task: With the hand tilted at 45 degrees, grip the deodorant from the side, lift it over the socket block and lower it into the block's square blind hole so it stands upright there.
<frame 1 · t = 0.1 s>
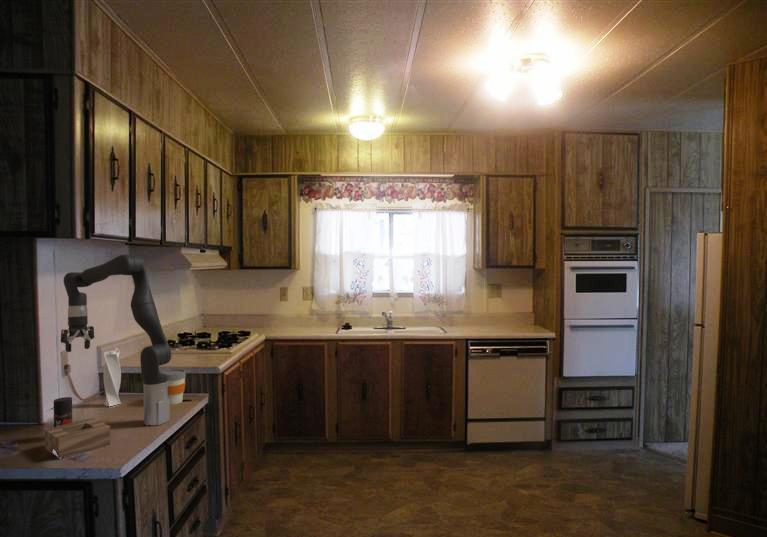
hand: (78, 350, 203), 29 cm above the countertop, tool pointing down, fingers open, 8 cm apart
socket block: (77, 446, 164), on the countertop
skyscraper: (112, 405, 215), on the countertop
reusable coffee cup: (172, 402, 219), on the countertop
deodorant: (63, 437, 173), on the countertop
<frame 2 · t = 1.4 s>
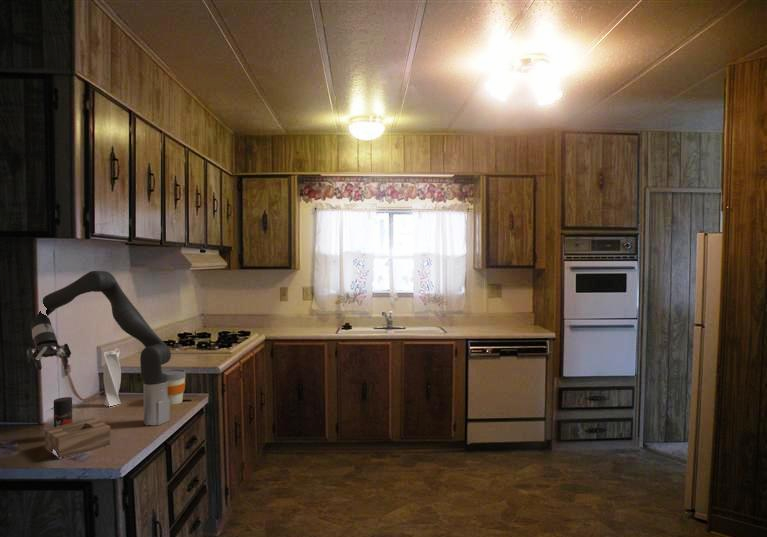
hand: (53, 367, 181), 26 cm above the countertop, tool tilted 45°, fingers open, 8 cm apart
nothing on the countertop moved.
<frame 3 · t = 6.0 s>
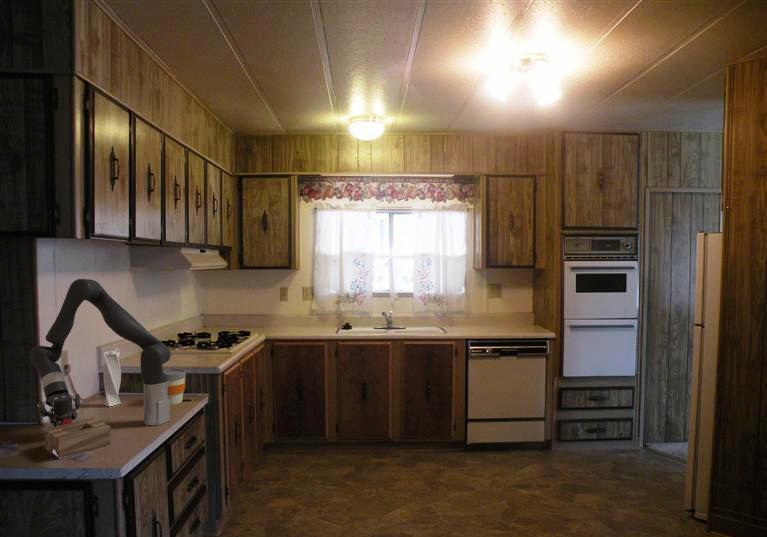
hand: (64, 420, 172), 7 cm above the countertop, tool tilted 45°, fingers closed on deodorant, 6 cm apart
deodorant: (63, 437, 173), on the countertop, touching gripper
everything else where it was.
when the fingers open (11 cm above the countertop, at t = 12.3 s): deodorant drops 2 cm, resting on socket block.
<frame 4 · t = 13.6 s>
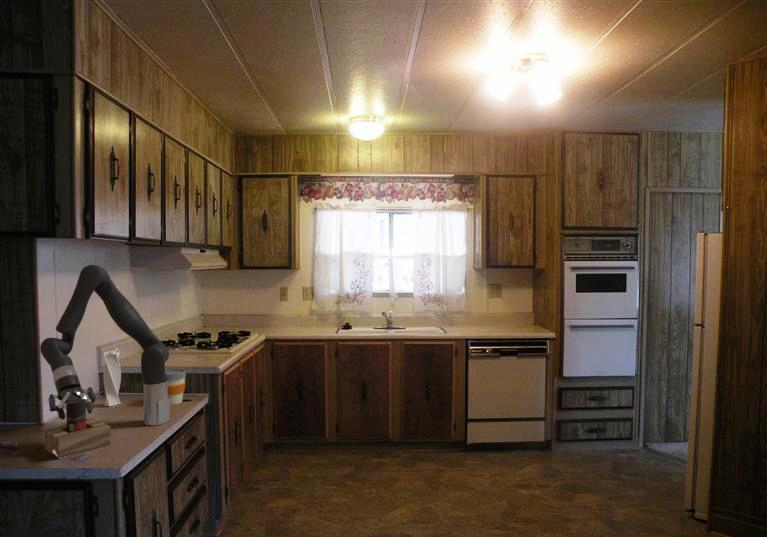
hand: (77, 415, 164), 12 cm above the countertop, tool tilted 45°, fingers open, 8 cm apart
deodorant: (76, 441, 164), point 2 cm above the countertop, touching socket block
everything else where it was.
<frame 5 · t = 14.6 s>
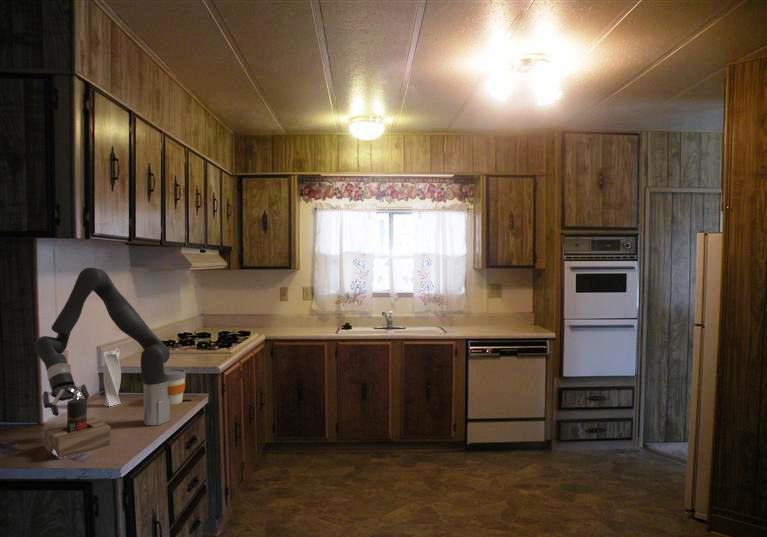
hand: (70, 411, 168), 12 cm above the countertop, tool tilted 45°, fingers open, 8 cm apart
nothing on the countertop moved.
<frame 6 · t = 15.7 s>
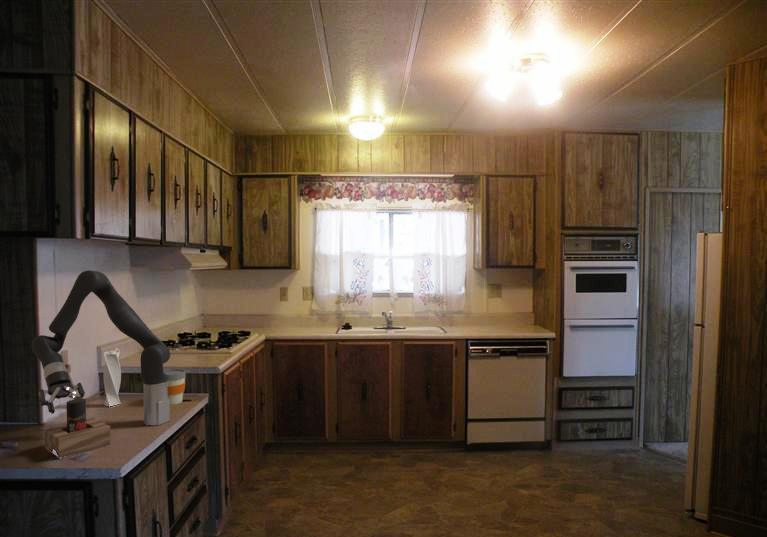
hand: (66, 409, 171), 12 cm above the countertop, tool tilted 45°, fingers open, 8 cm apart
nothing on the countertop moved.
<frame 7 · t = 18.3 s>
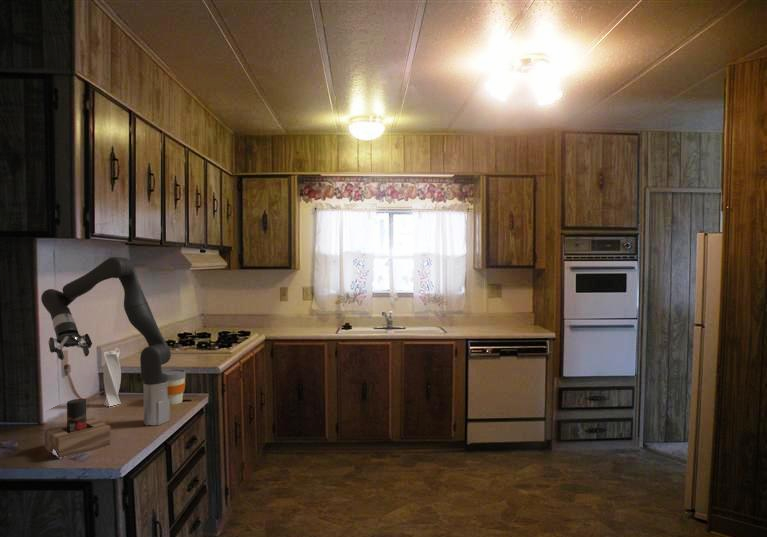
hand: (74, 356, 179), 31 cm above the countertop, tool tilted 45°, fingers open, 8 cm apart
nothing on the countertop moved.
at the end: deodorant 0.3 cm off-centre on the socket block, point 1.8 cm above the socket block's base; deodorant tilted 0°; the gripper is holding nothing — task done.
